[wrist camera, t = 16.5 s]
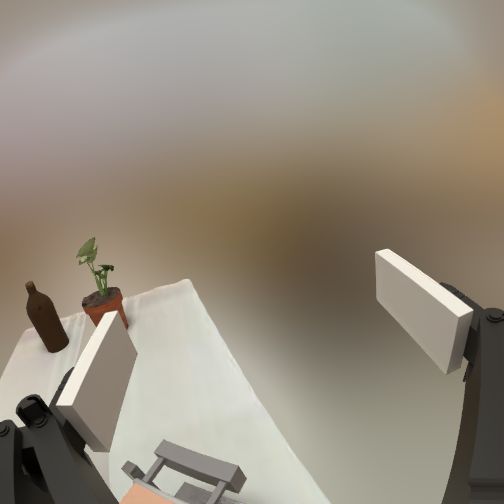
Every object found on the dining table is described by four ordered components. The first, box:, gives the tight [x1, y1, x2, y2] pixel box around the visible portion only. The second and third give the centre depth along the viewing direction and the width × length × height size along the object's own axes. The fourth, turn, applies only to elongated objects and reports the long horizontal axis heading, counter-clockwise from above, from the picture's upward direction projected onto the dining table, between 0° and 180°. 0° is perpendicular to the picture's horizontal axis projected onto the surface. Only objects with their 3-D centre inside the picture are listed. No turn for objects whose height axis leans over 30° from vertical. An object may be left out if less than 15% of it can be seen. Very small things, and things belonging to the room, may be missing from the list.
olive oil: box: [25, 281, 69, 353], centre depth 85 cm, size 11×11×25 cm
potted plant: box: [77, 237, 128, 329], centre depth 89 cm, size 16×15×35 cm
